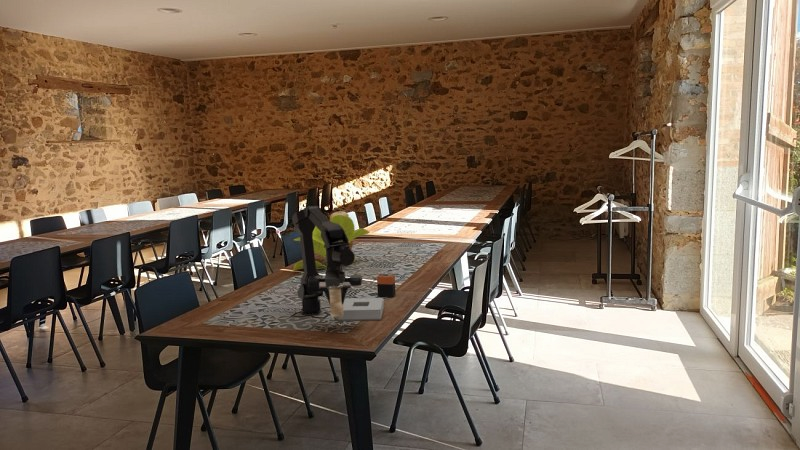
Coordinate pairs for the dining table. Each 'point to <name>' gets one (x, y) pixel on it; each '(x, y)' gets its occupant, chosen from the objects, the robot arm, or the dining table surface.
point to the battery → (386, 285)
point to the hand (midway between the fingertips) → (336, 304)
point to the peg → (336, 302)
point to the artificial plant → (350, 233)
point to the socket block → (362, 309)
